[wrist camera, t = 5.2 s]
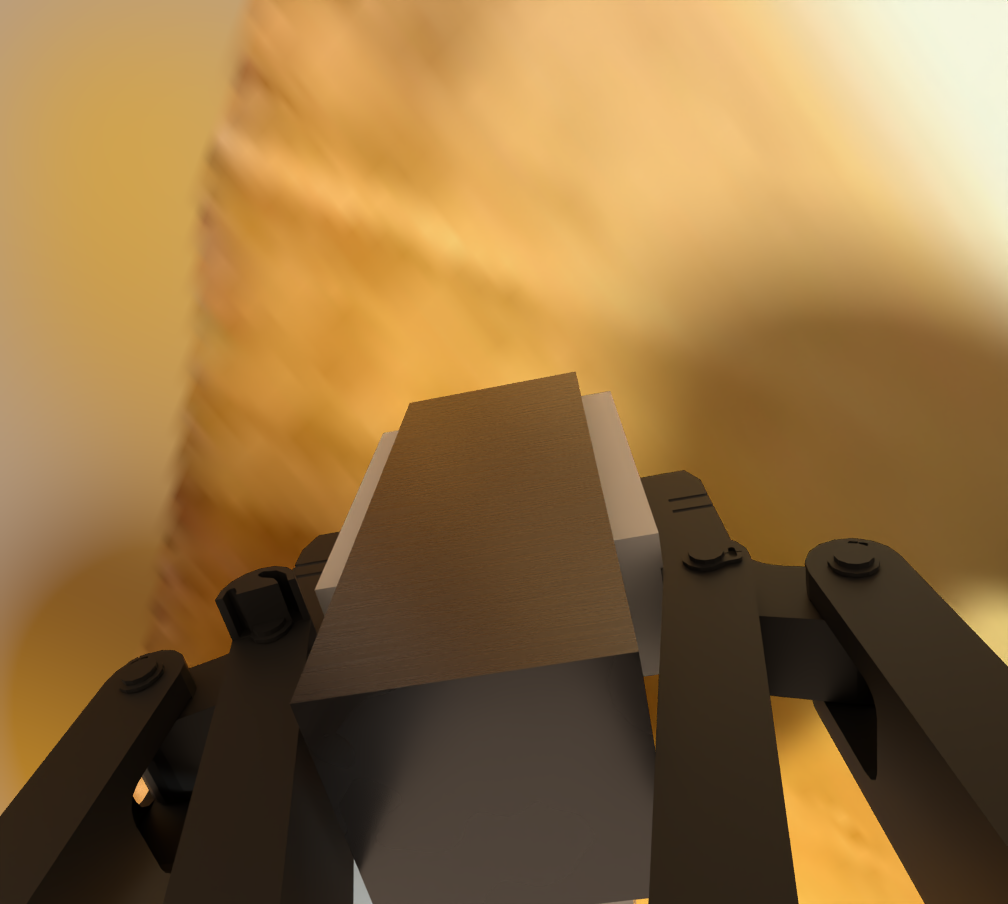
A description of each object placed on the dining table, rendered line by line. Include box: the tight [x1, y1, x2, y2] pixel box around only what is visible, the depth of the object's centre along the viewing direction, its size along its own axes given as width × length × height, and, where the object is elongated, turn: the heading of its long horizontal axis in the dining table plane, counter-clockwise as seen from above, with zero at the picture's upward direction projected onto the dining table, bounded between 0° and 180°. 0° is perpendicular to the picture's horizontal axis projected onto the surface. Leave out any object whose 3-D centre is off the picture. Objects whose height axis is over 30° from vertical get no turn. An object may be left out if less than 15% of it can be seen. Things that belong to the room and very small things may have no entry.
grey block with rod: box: [290, 372, 655, 904], centre depth 16 cm, size 8×17×10 cm, turn 12°
